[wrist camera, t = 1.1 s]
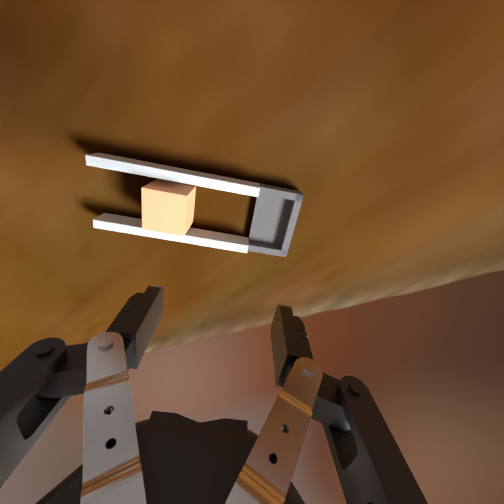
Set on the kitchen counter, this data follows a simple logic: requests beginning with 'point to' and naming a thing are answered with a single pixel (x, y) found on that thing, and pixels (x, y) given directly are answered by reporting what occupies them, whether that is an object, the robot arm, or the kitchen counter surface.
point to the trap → (274, 220)
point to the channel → (176, 175)
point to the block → (168, 207)
